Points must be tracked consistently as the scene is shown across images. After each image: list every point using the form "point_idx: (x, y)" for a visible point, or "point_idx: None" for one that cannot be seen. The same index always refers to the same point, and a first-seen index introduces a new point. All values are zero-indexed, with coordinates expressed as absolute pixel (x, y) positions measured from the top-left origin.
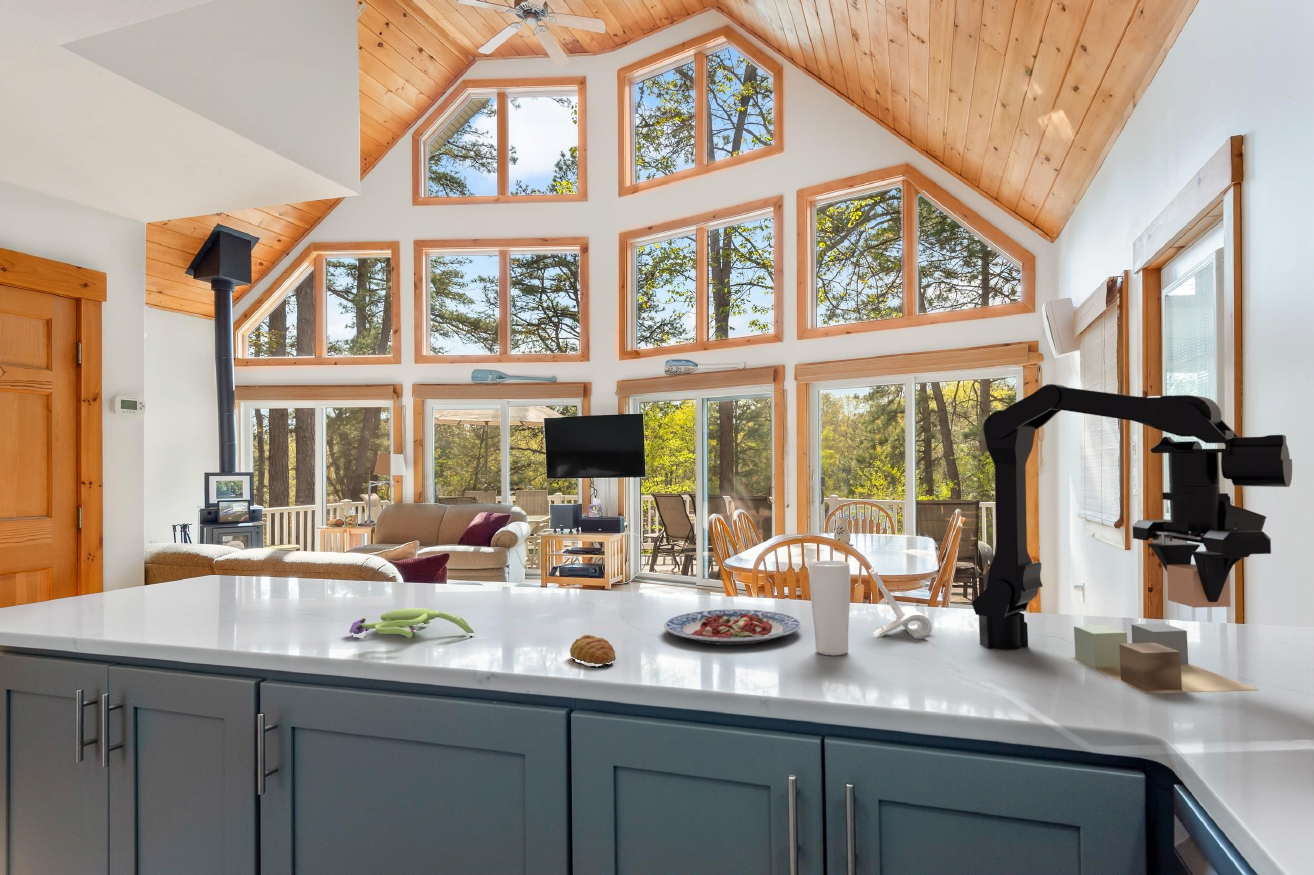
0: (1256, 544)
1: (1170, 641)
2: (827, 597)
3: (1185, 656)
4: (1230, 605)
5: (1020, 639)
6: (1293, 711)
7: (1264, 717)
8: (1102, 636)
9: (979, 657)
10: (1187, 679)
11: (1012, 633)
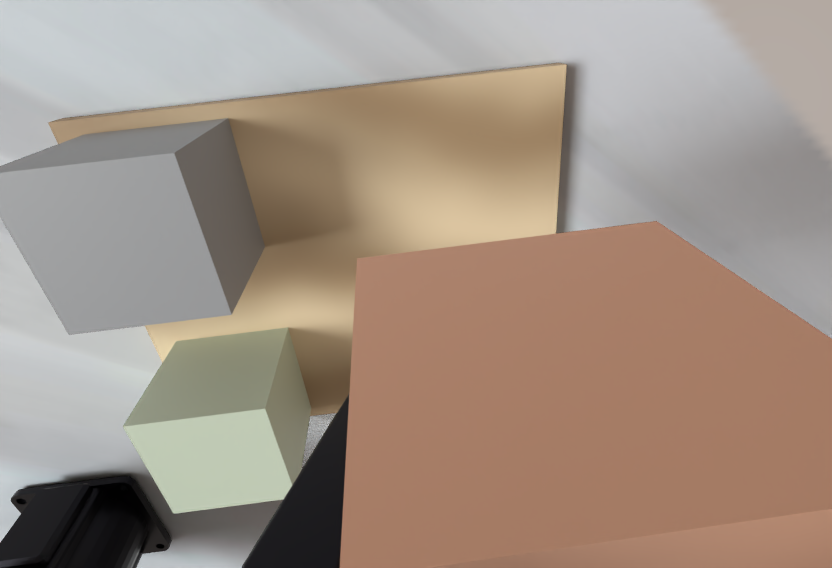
0: None
1: (221, 222)
2: None
3: (220, 136)
4: (662, 225)
5: (96, 524)
6: (711, 62)
7: (722, 187)
8: (289, 466)
9: (193, 559)
10: (433, 231)
11: (115, 564)
